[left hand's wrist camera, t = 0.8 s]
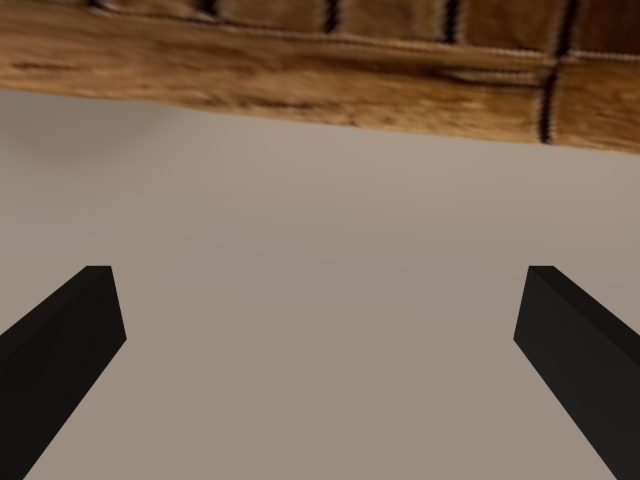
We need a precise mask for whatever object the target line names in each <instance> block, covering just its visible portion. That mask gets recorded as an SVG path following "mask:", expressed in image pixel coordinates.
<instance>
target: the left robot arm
mask: <svg viewBox="0 0 640 480" xmlns="http://www.w3.org/2000/svg"><path fill="white" fill-rule="evenodd" d="M126 339H127V338H126V334H125V329H124V324H123V320H122V315H121V310H120V306H119V301H118V296H117V291H116V287H115V282H114V277H113V273H112V268H111V266H86V267H85V268H83V269H82V270H81V271H80V272H78V273H77V274H76V275H75V276H73V277H72V278H71V279H70V280H69V281H67V282H66V283H65V284H64V285H62V286H61V287H60V288H59V289H57V290H56V291H55V292H54V293H52V294H51V295H50V296H49V297H47V298H46V299H45V300H44V301H42V302H41V303H40V304H39V305H38V306H36V307H35V308H34V309H33V310H31V311H30V312H29V313H28V314H26V315H25V316H24V317H23V318H21V319H20V320H19V321H18V322H16V323H15V324H14V325H13V326H11V327H10V328H9V329H8V330H7V331H5V332H4V333H3V334H2V335H0V480H23V479H24V478H25V476H26V475H27V474H28V472H29V471H30V469H31V468H32V467H33V465H34V464H35V463H36V461H37V460H38V459H39V457H40V456H41V455H42V453H43V452H44V451H45V449H46V448H47V446H48V445H49V444H50V442H51V441H52V440H53V438H54V437H55V436H56V434H57V433H58V431H59V430H60V429H61V427H62V426H63V425H64V423H65V422H66V421H67V419H68V418H69V417H70V415H71V414H72V413H73V411H74V410H75V409H76V407H77V406H78V405H79V403H80V402H81V400H82V399H83V398H84V396H85V395H86V394H87V392H88V391H89V390H90V388H91V387H92V386H93V384H94V383H95V381H96V380H97V379H98V377H99V376H100V375H101V373H102V372H103V371H104V369H105V368H106V367H107V365H108V364H109V363H110V361H111V360H112V358H113V357H114V356H115V354H116V353H117V352H118V350H119V349H120V348H121V346H122V345H123V344H124V342H125V341H126ZM513 339H514V341H515V342H516V344H517V345H518V346H519V348H520V349H521V350H522V352H523V353H524V354H525V356H526V357H527V358H528V360H529V361H530V363H531V364H532V365H533V367H534V368H535V369H536V371H537V372H538V373H539V375H540V376H541V377H542V379H543V380H544V381H545V383H546V384H547V386H548V387H549V388H550V390H551V391H552V392H553V394H554V395H555V396H556V398H557V399H558V400H559V402H560V403H561V404H562V406H563V407H564V409H565V410H566V411H567V413H568V414H569V415H570V417H571V418H572V419H573V421H574V422H575V423H576V425H577V426H578V428H579V429H580V430H581V432H582V433H583V434H584V436H585V437H586V438H587V440H588V441H589V442H590V444H591V445H592V446H593V448H594V449H595V451H596V452H597V453H598V455H599V456H600V457H601V459H602V460H603V461H604V463H605V464H606V465H607V467H608V468H609V469H610V471H611V472H612V474H613V475H614V476H615V478H616V479H617V480H640V335H638V334H637V333H636V332H635V331H633V330H632V329H631V328H630V327H629V326H627V325H626V324H625V323H623V322H622V321H621V320H620V319H619V318H617V317H616V316H615V315H614V314H612V313H611V312H610V311H609V310H607V309H606V308H605V307H604V306H602V305H601V304H600V303H599V302H598V301H596V300H595V299H594V298H593V297H591V296H590V295H589V294H588V293H586V292H585V291H584V290H583V289H581V288H580V287H579V286H578V285H576V284H575V283H574V282H573V281H572V280H570V279H569V278H568V277H567V276H565V275H564V274H563V273H562V272H560V271H559V270H558V269H557V268H555V267H554V266H529V268H528V273H527V277H526V282H525V287H524V291H523V296H522V301H521V305H520V310H519V315H518V320H517V324H516V329H515V333H514V338H513Z"/></svg>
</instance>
